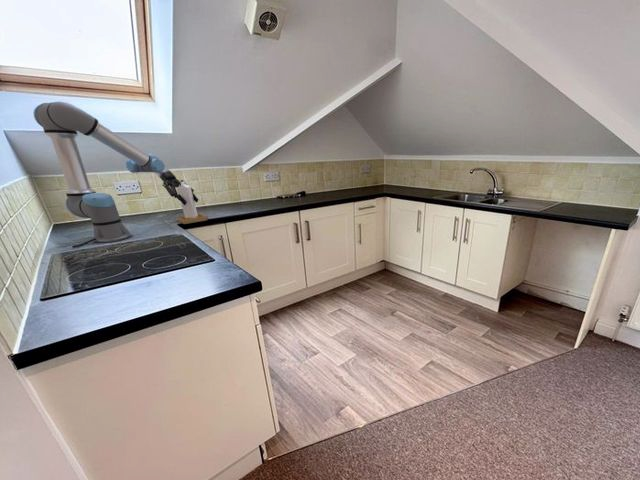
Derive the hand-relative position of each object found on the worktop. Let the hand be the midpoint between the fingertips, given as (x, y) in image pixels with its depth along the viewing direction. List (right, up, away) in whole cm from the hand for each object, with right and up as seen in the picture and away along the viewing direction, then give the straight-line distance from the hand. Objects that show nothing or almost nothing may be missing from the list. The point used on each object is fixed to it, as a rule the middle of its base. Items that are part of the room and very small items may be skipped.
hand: (191, 202), depth 189 cm
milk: (-3, -9, +5) cm, 10 cm away
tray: (-3, -11, +6) cm, 12 cm away
